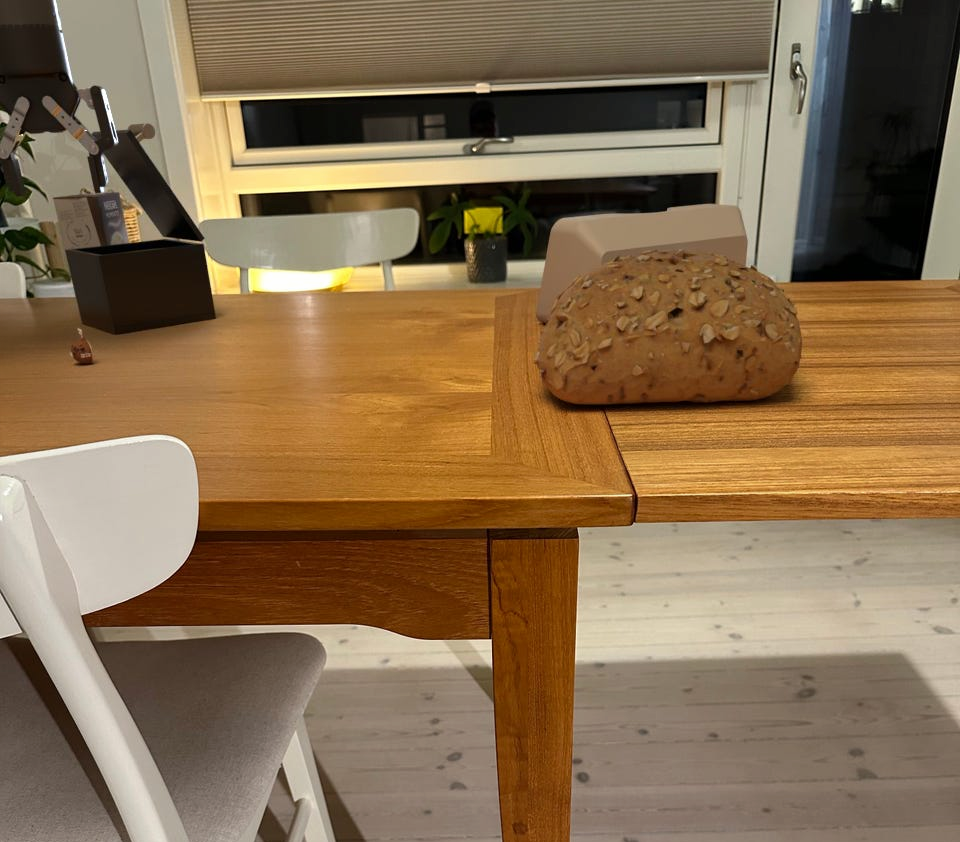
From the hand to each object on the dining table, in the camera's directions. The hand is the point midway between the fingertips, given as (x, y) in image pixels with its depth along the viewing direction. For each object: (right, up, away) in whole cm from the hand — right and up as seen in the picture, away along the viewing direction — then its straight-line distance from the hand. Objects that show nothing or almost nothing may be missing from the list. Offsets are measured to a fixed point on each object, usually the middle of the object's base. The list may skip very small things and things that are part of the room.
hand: (60, 194), depth 107 cm
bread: (+64, -26, -15) cm, 71 cm away
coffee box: (-9, 0, +37) cm, 38 cm away
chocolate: (+1, -18, +4) cm, 19 cm away
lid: (+2, +11, +22) cm, 24 cm away
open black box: (0, -5, +28) cm, 28 cm away
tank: (+69, -10, +13) cm, 71 cm away
